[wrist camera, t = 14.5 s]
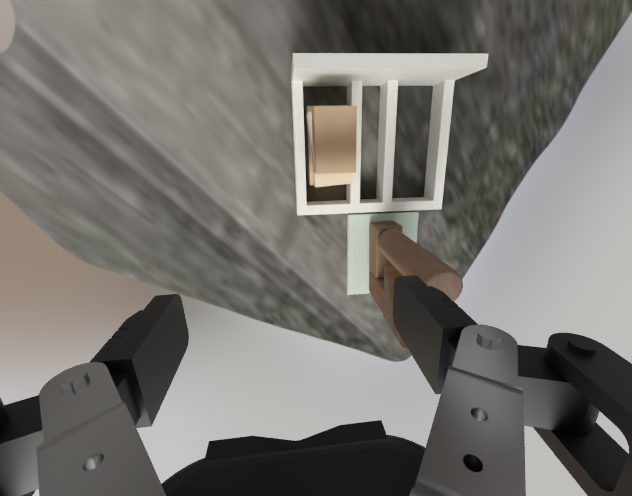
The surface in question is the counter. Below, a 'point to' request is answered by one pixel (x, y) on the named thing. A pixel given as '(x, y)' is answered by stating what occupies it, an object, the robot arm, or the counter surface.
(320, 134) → the offcut stack
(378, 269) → the wooden block
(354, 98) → the offcut rack
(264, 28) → the counter surface
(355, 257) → the sage mat
